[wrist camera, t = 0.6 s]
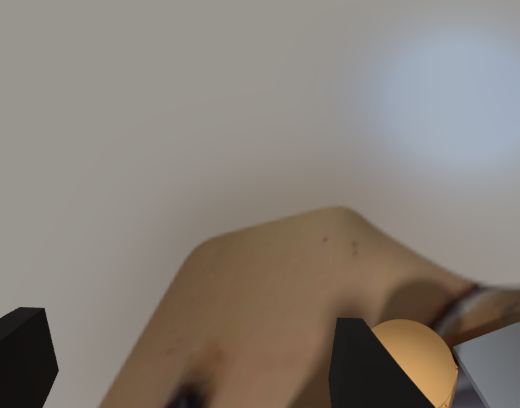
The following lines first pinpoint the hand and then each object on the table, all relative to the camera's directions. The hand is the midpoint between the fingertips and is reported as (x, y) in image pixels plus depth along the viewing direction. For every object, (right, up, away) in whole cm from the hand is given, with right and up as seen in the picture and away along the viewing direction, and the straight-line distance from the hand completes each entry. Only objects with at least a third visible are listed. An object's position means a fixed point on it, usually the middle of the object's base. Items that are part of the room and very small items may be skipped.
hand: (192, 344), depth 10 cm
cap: (+11, -8, +15) cm, 20 cm away
